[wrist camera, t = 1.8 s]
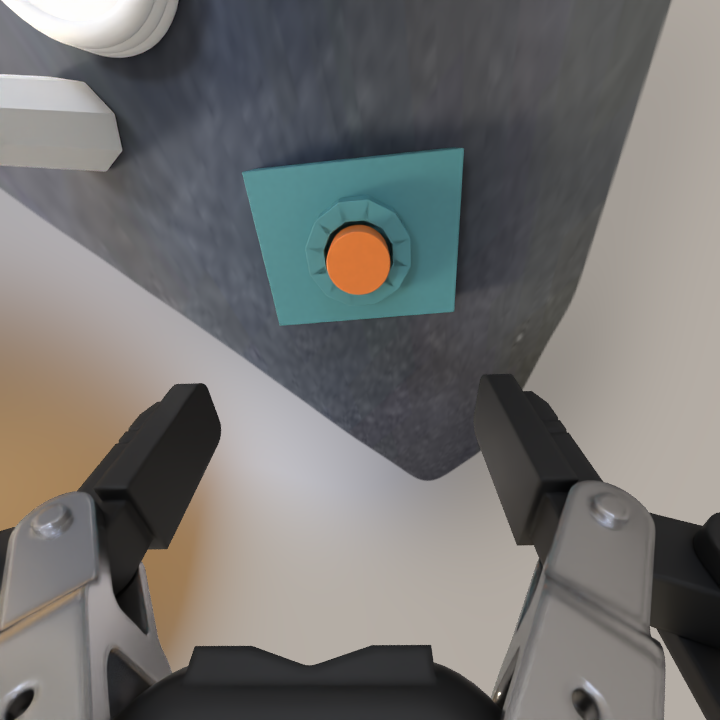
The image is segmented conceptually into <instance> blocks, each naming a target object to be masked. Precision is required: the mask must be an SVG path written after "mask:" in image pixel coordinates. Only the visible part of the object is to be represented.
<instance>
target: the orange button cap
mask: <svg viewBox="0 0 720 720" xmlns="http://www.w3.org/2000/svg"><path fill="white" fill-rule="evenodd" d="M326 265H327V271H328V274H329V276H330V278H331V280H332V281H333V283H334V284H335V285H336V286H337V287H338V288H340V289H341V290H343V291H345V292H347V293H350V294H354V295H363V294H368V293H370V292H373V291H375V290H376V289H378V288H379V287H380V286H381V285H382V284H383V283H384V282H385V280H386V278H387V276H388V274H389V271H390V255H389V251H388V246H387V244H386V241H385V239H384V238H383V237H382V235H381V234H380V233H379V232H378V231H376V230H375V229H373V228H372V227H369V226H366V225H351V226H348V227H346V228H344V229H342V230H341V231H340V232H339V233H338V234H337V235H336V236H335V237H334V239H333V241H332V243H331V245H330V248H329V251H328V255H327V261H326Z"/></svg>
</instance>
